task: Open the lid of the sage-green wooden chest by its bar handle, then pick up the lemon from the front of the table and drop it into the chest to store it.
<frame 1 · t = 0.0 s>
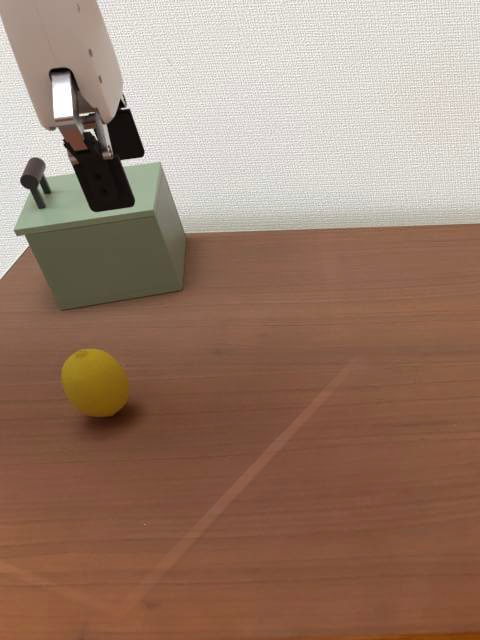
hand: (120, 181, 67), 24 cm above the table, tool pointing down, fingers open, 9 cm apart
lid: (86, 179, 96), point 12 cm above the table, hinge at 0.0°
lemon: (112, 416, 82), on the table
chest: (127, 272, 104), on the table
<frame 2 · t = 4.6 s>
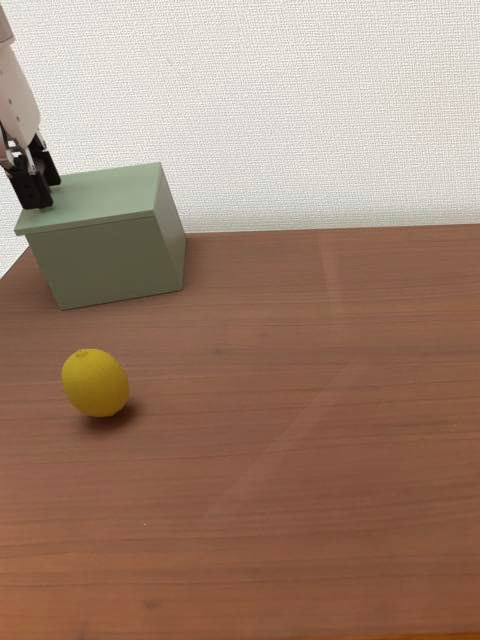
hand: (42, 194, 95), 11 cm above the table, tool pointing down, fingers closed on lid, 5 cm apart
lid: (86, 179, 96), point 12 cm above the table, hinge at 0.0°, touching gripper
everything else where it was.
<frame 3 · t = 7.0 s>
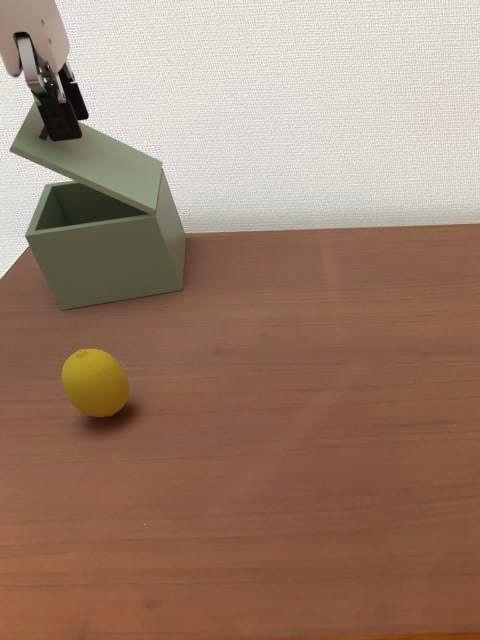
hand: (70, 127, 92), 19 cm above the table, tool pointing down, fingers closed on lid, 5 cm apart
lid: (100, 141, 93), point 17 cm above the table, hinge at 39.3°, touching gripper
everything else where it was.
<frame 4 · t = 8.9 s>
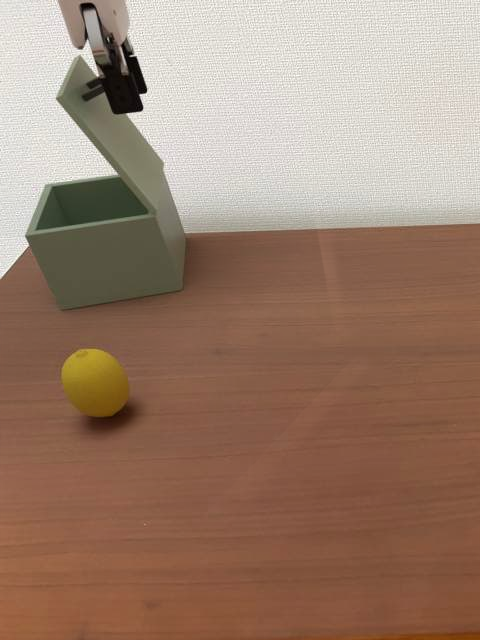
hand: (130, 101, 92), 21 cm above the table, tool pointing down, fingers open, 5 cm apart
lid: (131, 125, 93), point 18 cm above the table, hinge at 70.2°
everything else where it was.
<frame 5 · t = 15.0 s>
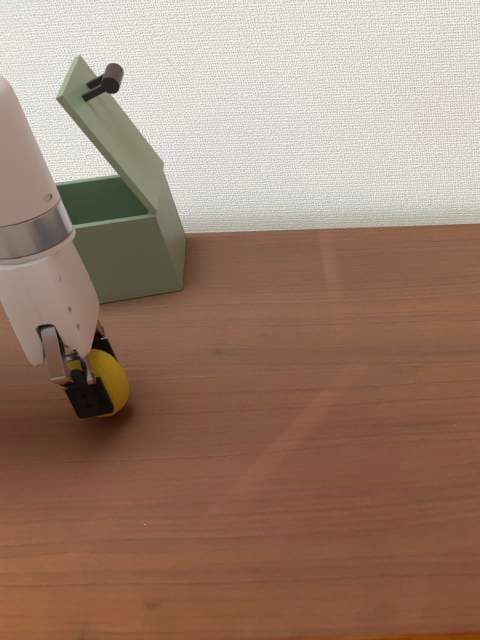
hand: (100, 392, 80), 3 cm above the table, tool pointing down, fingers closed on lemon, 5 cm apart
lemon: (112, 416, 82), on the table, touching gripper
everything else where it was.
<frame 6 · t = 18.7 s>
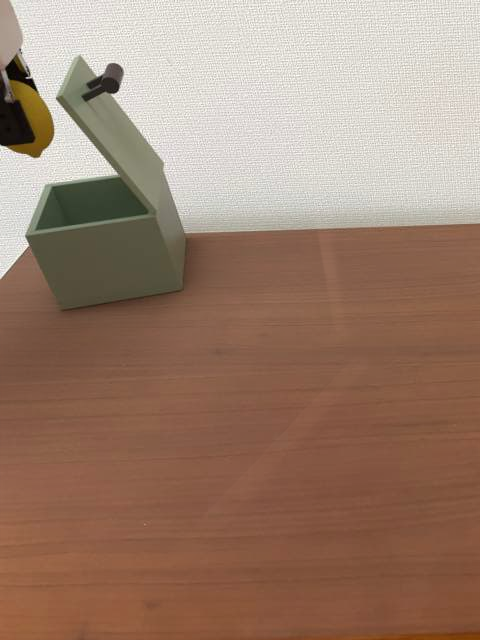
hand: (24, 129, 82), 22 cm above the table, tool pointing down, fingers closed on lemon, 5 cm apart
lemon: (38, 159, 84), point 19 cm above the table, touching gripper
everything else where it was.
when the fingers open (12 cm above the table, at t = 22.6 s): lemon drops 8 cm, resting on chest.
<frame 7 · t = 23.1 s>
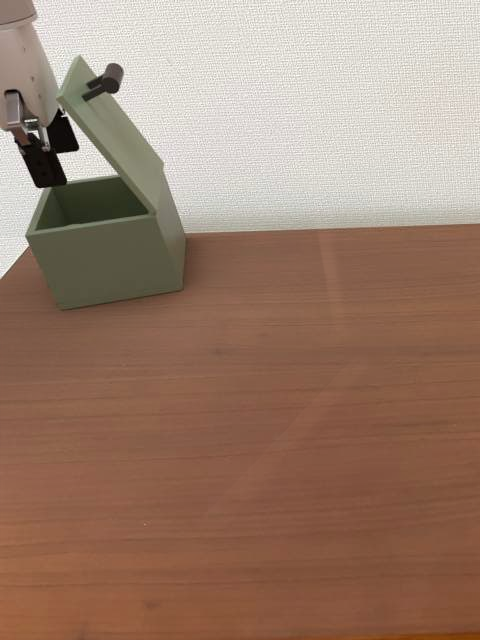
hand: (59, 168, 94), 14 cm above the table, tool pointing down, fingers open, 9 cm apart
lemon: (100, 267, 102), point 1 cm above the table, touching chest
everything else where it was.
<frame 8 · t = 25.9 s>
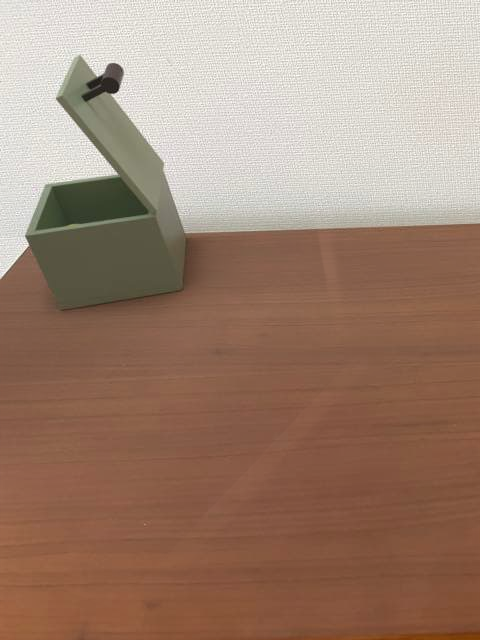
nothing on the table moved.
at the end: lid at +70° (first picture: +0°); lemon inside the target area in the chest (2.8 cm from its centre), point 1.5 cm above the chest's base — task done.
